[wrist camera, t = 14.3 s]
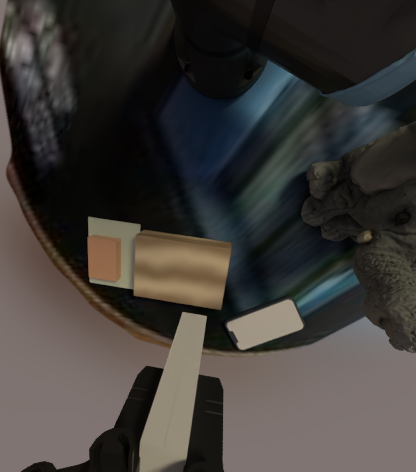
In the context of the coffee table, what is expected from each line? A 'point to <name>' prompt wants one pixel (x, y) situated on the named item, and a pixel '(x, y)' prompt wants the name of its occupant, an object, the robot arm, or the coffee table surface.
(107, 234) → the mat
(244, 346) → the phone case
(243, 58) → the robot arm
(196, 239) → the wooden block
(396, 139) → the stuffed elephant
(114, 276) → the salmon orange slab
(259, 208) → the coffee table surface
